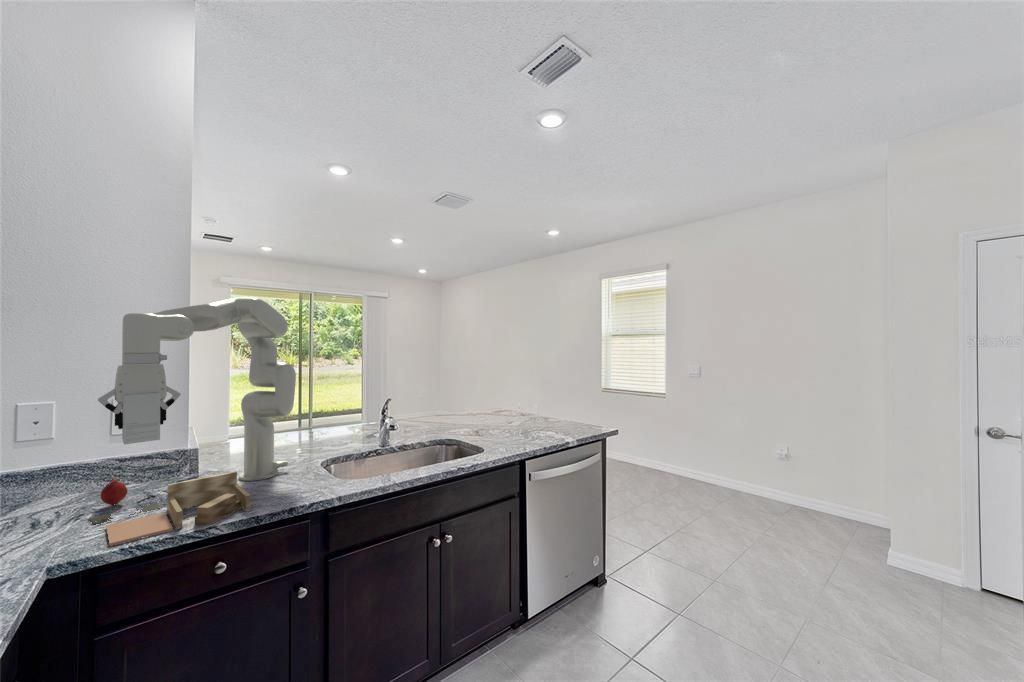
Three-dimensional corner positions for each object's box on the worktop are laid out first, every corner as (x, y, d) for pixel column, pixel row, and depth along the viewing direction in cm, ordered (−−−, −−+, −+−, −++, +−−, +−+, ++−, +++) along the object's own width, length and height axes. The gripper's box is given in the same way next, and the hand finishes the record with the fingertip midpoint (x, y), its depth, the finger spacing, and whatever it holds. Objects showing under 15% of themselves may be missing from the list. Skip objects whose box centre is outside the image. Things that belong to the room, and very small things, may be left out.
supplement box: (158, 435, 115) (158, 390, 115) (160, 440, 110) (160, 392, 110) (121, 440, 110) (121, 392, 110) (122, 445, 104) (122, 395, 104)
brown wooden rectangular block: (230, 508, 124) (230, 491, 124) (241, 509, 124) (241, 492, 124) (194, 525, 112) (194, 507, 113) (206, 526, 112) (206, 508, 112)
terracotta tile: (164, 515, 119) (164, 512, 119) (172, 530, 109) (172, 527, 109) (106, 528, 110) (106, 525, 110) (109, 546, 100) (109, 543, 100)
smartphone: (163, 506, 123) (93, 524, 111) (163, 509, 123) (93, 528, 111) (155, 501, 128) (86, 518, 115) (155, 503, 128) (86, 521, 115)
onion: (110, 510, 122) (110, 483, 122) (95, 508, 123) (95, 481, 123) (132, 502, 128) (132, 476, 128) (117, 501, 129) (117, 475, 129)
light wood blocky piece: (235, 495, 134) (235, 471, 134) (250, 510, 123) (250, 483, 123) (167, 511, 121) (167, 484, 121) (176, 529, 110) (177, 499, 110)
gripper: (180, 358, 119) (180, 419, 119) (94, 360, 106) (94, 428, 106) (185, 359, 113) (184, 423, 113) (95, 361, 101) (95, 433, 101)
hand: (141, 425), depth 110 cm, fingers closed on supplement box, 7 cm apart
